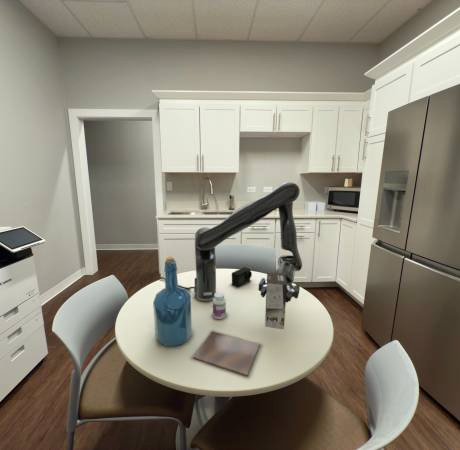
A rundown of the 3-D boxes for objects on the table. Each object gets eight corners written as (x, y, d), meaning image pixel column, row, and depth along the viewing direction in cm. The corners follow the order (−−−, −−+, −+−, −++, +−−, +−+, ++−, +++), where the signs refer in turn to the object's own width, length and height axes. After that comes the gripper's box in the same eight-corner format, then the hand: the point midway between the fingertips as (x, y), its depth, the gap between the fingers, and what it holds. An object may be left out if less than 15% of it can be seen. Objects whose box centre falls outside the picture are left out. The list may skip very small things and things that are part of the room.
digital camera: (239, 288, 126) (239, 275, 125) (231, 285, 130) (231, 272, 129) (251, 281, 134) (252, 269, 132) (244, 278, 137) (244, 266, 136)
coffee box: (284, 330, 82) (287, 284, 78) (264, 327, 83) (266, 283, 79) (283, 314, 90) (285, 273, 87) (265, 312, 92) (267, 271, 88)
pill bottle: (212, 312, 105) (212, 291, 103) (225, 311, 106) (224, 290, 104) (213, 319, 100) (212, 298, 98) (226, 319, 101) (226, 297, 98)
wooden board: (193, 358, 80) (193, 356, 80) (212, 332, 92) (212, 331, 92) (247, 376, 73) (247, 374, 73) (259, 345, 85) (259, 344, 85)
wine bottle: (153, 328, 95) (148, 254, 88) (187, 321, 99) (184, 249, 93) (158, 352, 82) (152, 267, 76) (197, 342, 87) (194, 262, 80)
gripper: (265, 265, 99) (254, 283, 84) (303, 271, 93) (297, 291, 79) (264, 283, 101) (253, 303, 86) (301, 290, 95) (296, 312, 80)
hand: (274, 297), depth 82 cm, fingers closed on coffee box, 7 cm apart
